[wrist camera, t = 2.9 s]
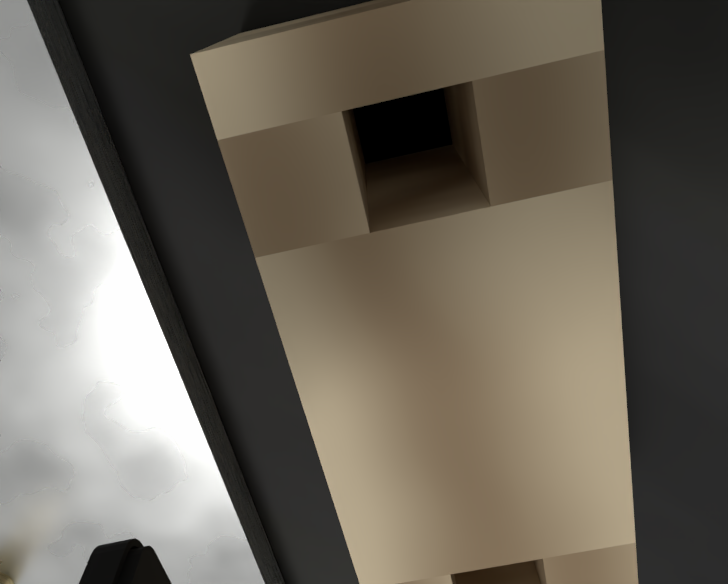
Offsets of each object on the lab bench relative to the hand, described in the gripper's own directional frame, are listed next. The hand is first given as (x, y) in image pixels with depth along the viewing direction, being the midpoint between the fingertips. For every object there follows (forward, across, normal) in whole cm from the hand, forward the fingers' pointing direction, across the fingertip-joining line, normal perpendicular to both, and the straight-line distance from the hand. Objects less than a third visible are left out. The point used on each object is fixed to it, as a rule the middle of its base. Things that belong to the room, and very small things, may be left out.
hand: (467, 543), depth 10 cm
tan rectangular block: (+9, -1, +1) cm, 9 cm away
